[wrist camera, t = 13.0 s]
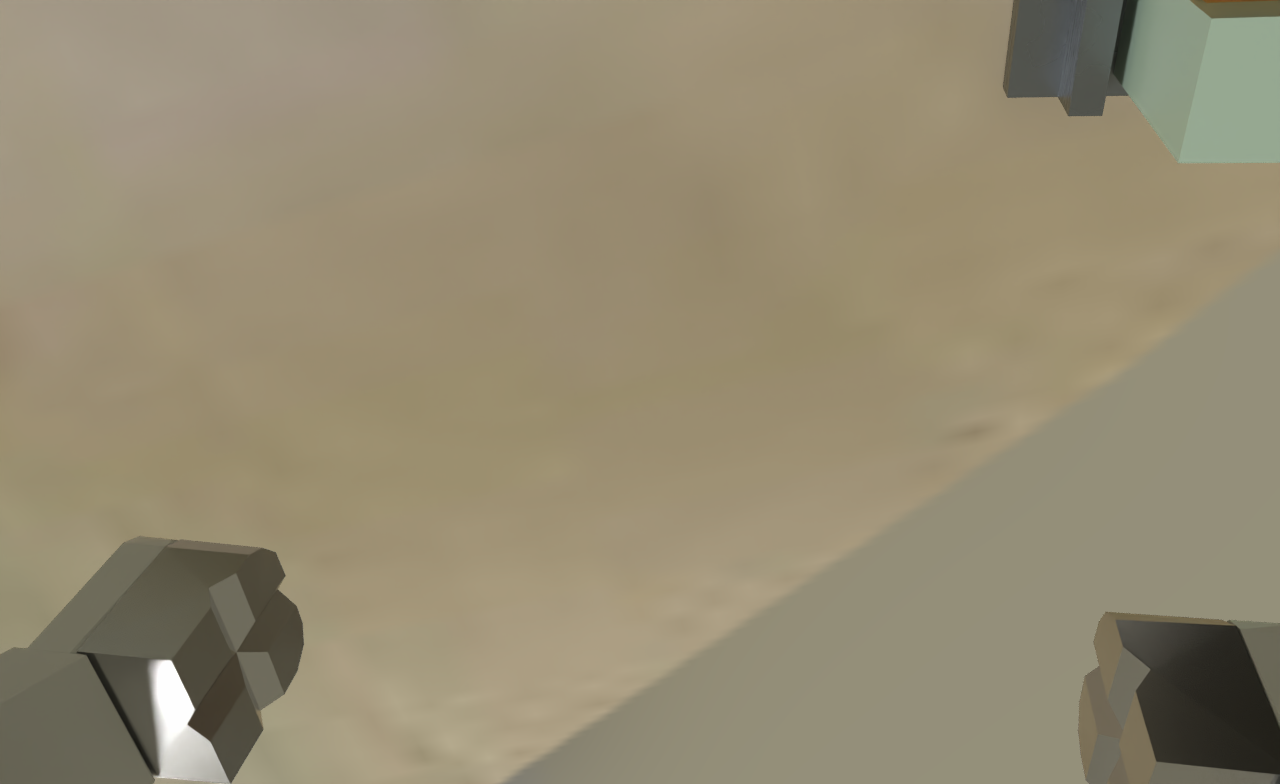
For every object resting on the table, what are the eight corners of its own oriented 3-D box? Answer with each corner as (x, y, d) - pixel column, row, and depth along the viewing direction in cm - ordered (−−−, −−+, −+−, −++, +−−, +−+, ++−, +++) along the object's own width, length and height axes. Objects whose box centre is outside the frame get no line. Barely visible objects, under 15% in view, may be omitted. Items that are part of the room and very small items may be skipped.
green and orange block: (1234, 71, 32) (1333, 161, 25) (1113, 74, 32) (1178, 163, 26) (1270, -69, 29) (1388, -10, 23) (1138, -63, 30) (1216, -4, 23)
